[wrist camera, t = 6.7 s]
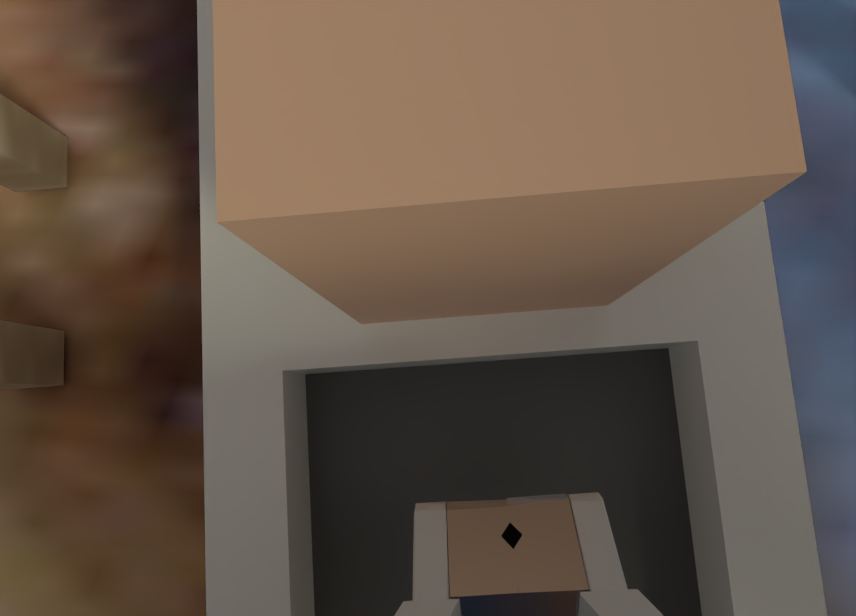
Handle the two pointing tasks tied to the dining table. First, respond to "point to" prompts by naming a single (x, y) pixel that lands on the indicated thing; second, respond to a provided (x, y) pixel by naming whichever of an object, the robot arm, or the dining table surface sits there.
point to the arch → (21, 171)
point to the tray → (498, 427)
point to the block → (494, 143)
